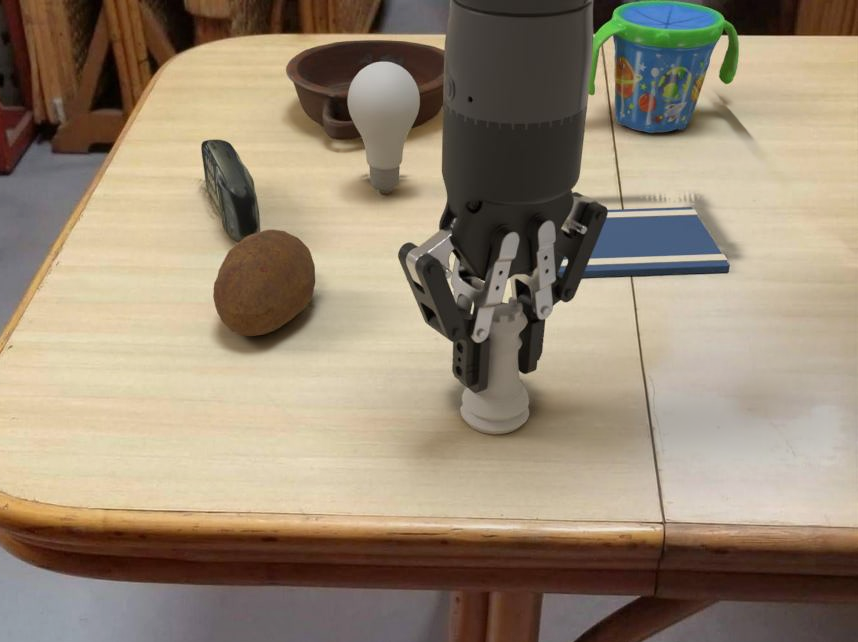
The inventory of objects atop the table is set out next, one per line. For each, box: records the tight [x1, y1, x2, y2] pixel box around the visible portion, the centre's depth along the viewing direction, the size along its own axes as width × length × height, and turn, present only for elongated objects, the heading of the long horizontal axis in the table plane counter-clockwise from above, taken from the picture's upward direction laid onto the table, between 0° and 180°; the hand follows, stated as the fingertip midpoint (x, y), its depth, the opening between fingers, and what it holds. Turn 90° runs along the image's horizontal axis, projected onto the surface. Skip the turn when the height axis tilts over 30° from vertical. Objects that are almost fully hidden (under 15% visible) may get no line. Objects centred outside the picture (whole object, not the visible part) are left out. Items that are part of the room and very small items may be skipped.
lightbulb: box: [348, 62, 420, 194], centre depth 92 cm, size 6×6×11 cm
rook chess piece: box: [459, 296, 531, 435], centre depth 66 cm, size 4×4×8 cm
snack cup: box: [588, 0, 740, 134], centre depth 105 cm, size 16×10×10 cm
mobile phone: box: [200, 139, 261, 243], centre depth 90 cm, size 5×3×15 cm
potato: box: [212, 229, 316, 337], centre depth 77 cm, size 7×10×6 cm
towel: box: [558, 206, 731, 279], centre depth 87 cm, size 16×11×1 cm
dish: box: [285, 39, 444, 141], centre depth 109 cm, size 18×22×5 cm
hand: (497, 375), depth 67 cm, fingers closed on rook chess piece, 3 cm apart
